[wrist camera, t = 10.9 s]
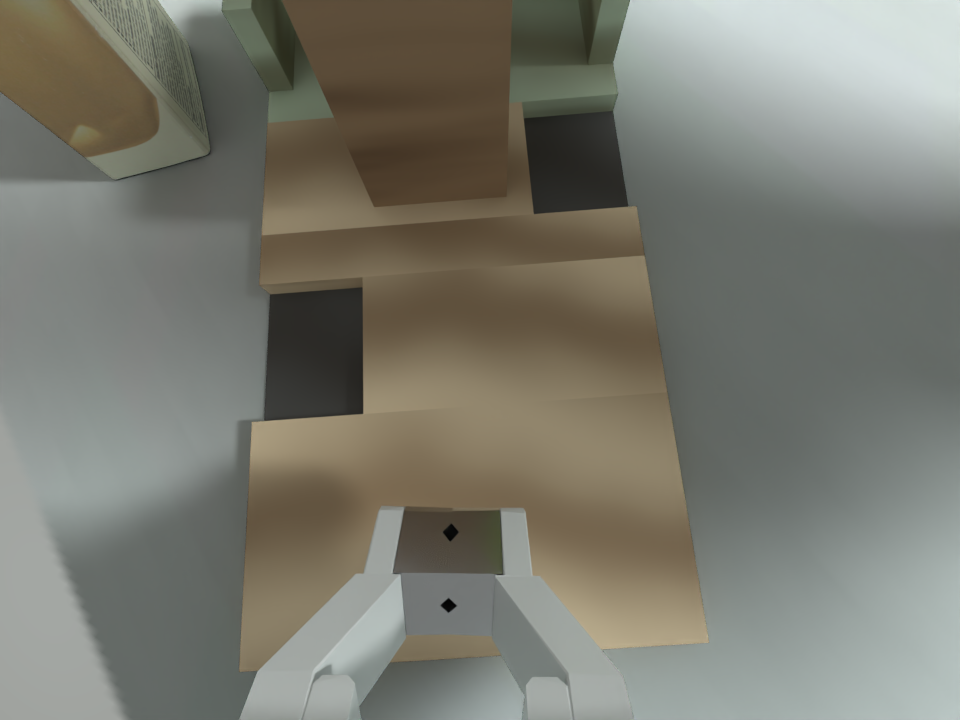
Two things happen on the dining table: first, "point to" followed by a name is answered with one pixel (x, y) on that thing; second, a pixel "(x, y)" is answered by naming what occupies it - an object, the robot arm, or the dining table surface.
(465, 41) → the walnut block
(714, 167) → the dining table surface
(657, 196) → the dining table surface
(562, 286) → the wooden slotted tray
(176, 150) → the skincare box
